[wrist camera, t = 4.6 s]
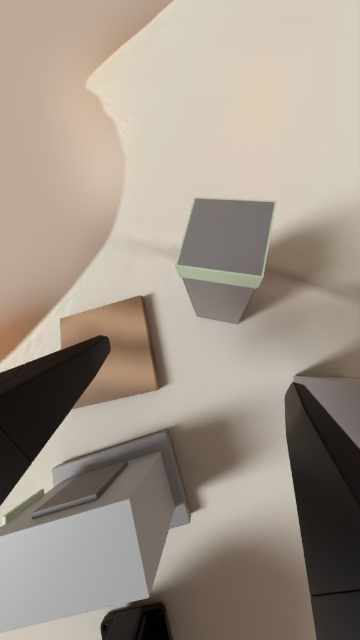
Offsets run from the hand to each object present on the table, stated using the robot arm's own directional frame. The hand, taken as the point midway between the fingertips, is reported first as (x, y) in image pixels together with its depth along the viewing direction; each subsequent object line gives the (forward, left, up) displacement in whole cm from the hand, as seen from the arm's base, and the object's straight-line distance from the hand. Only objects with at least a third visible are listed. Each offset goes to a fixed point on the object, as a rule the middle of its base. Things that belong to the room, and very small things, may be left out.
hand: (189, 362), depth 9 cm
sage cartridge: (+7, -5, -14) cm, 16 cm away
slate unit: (-9, +13, -13) cm, 21 cm away
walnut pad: (+6, +11, -13) cm, 19 cm away
